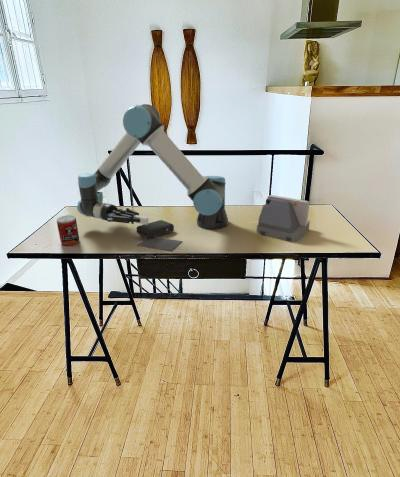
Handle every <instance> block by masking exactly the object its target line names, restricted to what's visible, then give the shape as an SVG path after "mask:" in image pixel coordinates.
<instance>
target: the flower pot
mask: <svg viewBox="0 0 400 477" xmlns="http://www.w3.org/2000/svg"><path fill="white" fill-rule="evenodd" d="M97 193H98V202H102V203H103V201H104V200H103V198H104V196H103V193H104V192H103V191H97Z"/></svg>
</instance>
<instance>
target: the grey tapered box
mask: <svg viewBox="0 0 400 477" xmlns="http://www.w3.org/2000/svg"><path fill="white" fill-rule="evenodd" d="M309 208H310V201H308V200H304V199H296V198H291V197H285V196H281V195H280V196H279V195H273V194H270V195H268V196H267V198H266V200H265V204H263V205H262V208H261V211H260V214H259V216H258V223H257V225H256V233H257V234H259V235H263V236H267V237H272V238H276V239H280V240H284V241H288V242H292V243H293V242H299V240H301V238H302V237H303V236H304V235H306V234H307V233H308V232H309V230H310V224H311V220H310V219H309V218H308V217H309Z"/></svg>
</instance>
